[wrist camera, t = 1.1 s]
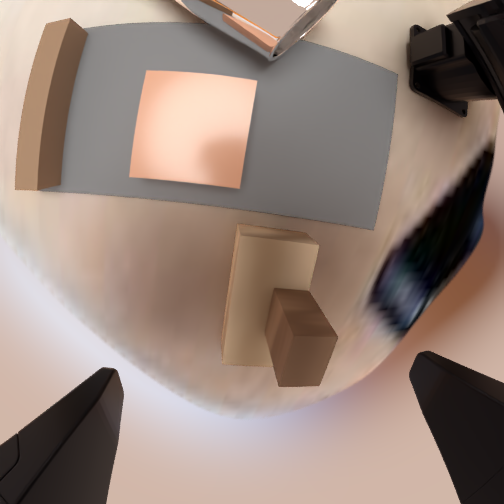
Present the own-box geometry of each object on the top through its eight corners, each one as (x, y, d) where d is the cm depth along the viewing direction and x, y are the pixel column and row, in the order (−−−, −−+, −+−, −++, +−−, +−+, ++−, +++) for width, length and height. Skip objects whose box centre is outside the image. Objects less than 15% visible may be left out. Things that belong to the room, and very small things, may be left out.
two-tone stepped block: (305, 232, 19) (356, 280, 12) (279, 342, 22) (304, 419, 14) (237, 223, 19) (250, 269, 11) (221, 339, 21) (224, 420, 14)
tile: (252, 90, 15) (257, 80, 13) (236, 184, 17) (239, 188, 15) (155, 81, 15) (146, 70, 12) (141, 174, 16) (129, 177, 14)
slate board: (395, 74, 16) (421, 65, 13) (371, 229, 19) (395, 242, 16) (69, 32, 12) (48, 17, 9) (41, 190, 16) (14, 197, 13)
